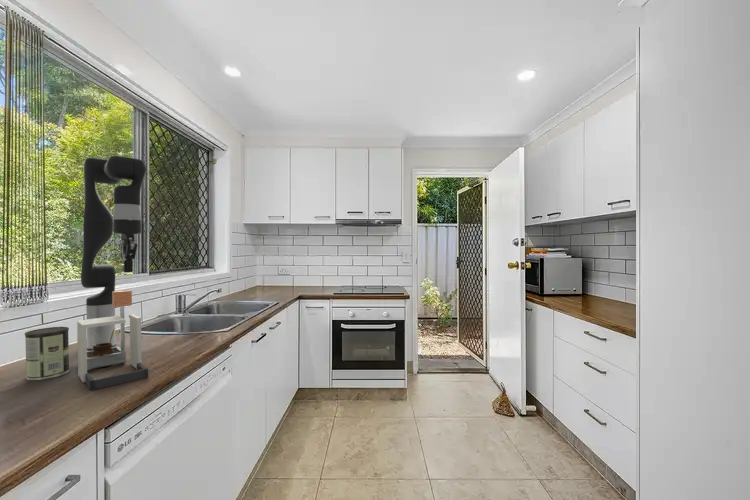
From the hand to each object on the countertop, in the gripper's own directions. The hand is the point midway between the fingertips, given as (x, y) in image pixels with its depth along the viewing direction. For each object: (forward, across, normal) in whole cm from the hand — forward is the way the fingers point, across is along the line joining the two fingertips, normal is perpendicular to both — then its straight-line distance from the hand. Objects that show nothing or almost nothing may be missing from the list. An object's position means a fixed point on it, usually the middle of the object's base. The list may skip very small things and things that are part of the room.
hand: (128, 272), depth 117 cm
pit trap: (+32, +8, -5) cm, 33 cm away
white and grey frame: (+32, -2, -5) cm, 32 cm away
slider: (+31, -14, -4) cm, 34 cm away
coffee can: (+32, -14, -19) cm, 40 cm away
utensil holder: (+32, -12, -5) cm, 35 cm away
